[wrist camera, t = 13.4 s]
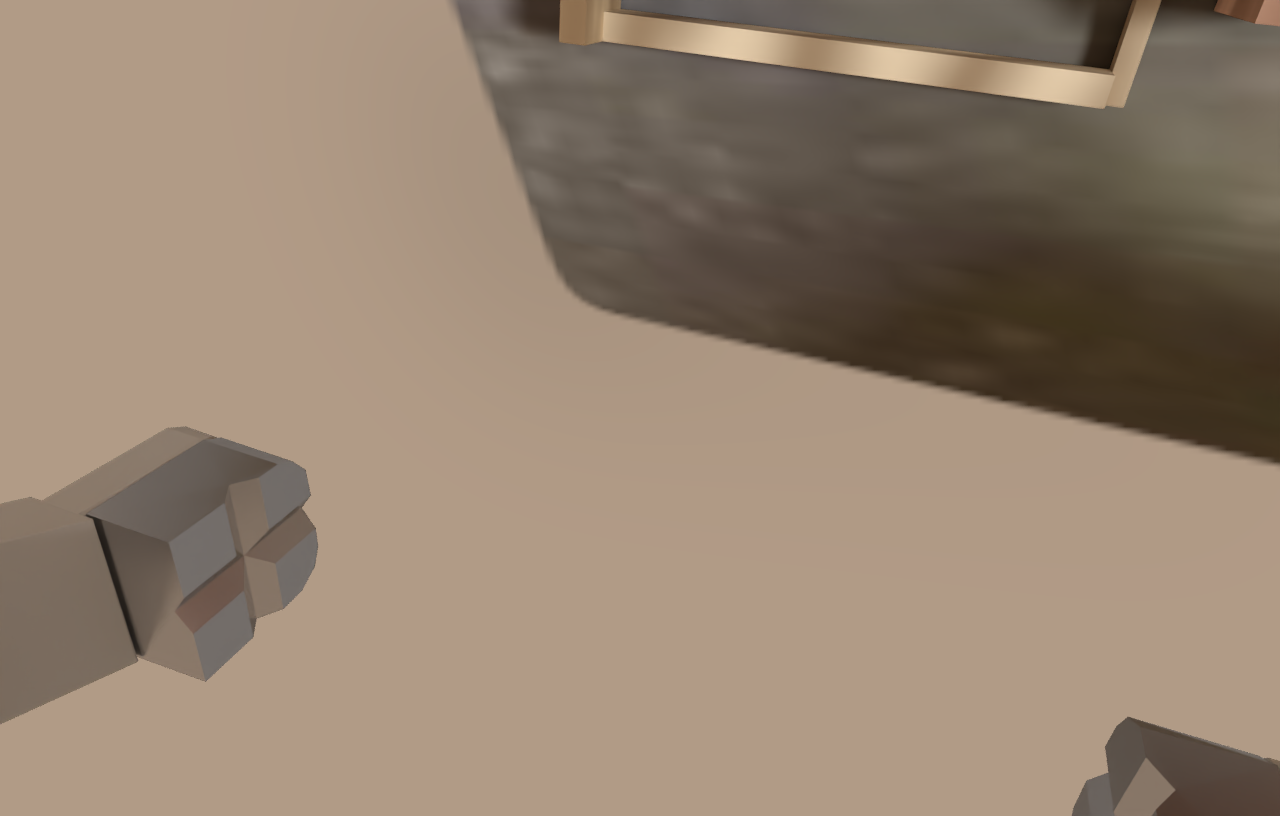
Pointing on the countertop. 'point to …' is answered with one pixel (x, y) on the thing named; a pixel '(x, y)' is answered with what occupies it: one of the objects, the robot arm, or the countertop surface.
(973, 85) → the frame
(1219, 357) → the countertop surface
